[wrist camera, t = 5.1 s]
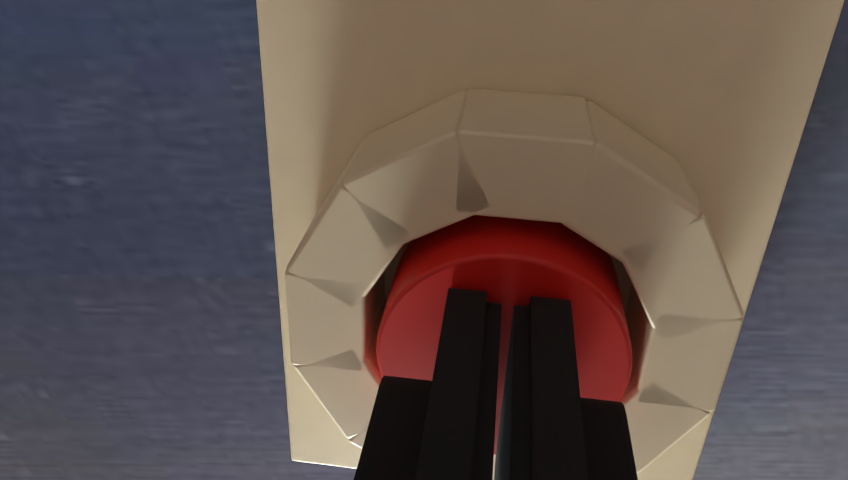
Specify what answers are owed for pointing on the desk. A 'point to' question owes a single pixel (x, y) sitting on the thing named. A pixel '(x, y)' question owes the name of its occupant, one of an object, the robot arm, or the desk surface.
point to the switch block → (532, 175)
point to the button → (507, 297)
